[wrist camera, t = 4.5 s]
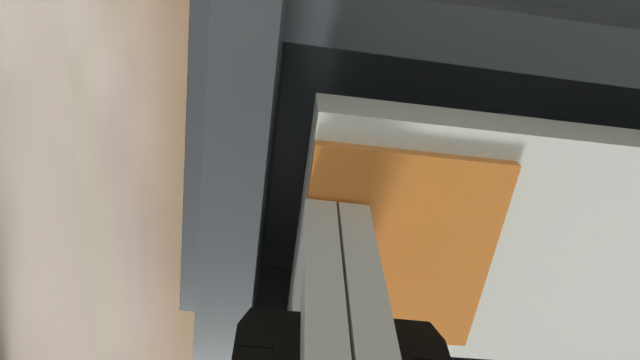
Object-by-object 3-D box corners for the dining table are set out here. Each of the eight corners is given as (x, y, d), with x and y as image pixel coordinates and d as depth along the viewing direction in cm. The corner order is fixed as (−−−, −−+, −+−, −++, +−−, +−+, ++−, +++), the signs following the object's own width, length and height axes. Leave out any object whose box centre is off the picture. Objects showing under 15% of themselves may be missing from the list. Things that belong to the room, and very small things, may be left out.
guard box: (865, 14, 19) (1144, 65, 12) (691, 339, 25) (821, 487, 18) (202, -83, 17) (137, -80, 11) (187, 286, 23) (139, 425, 17)
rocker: (811, 149, 16) (871, 177, 14) (705, 342, 19) (745, 384, 17) (316, 92, 14) (319, 115, 13) (286, 311, 17) (286, 353, 16)
